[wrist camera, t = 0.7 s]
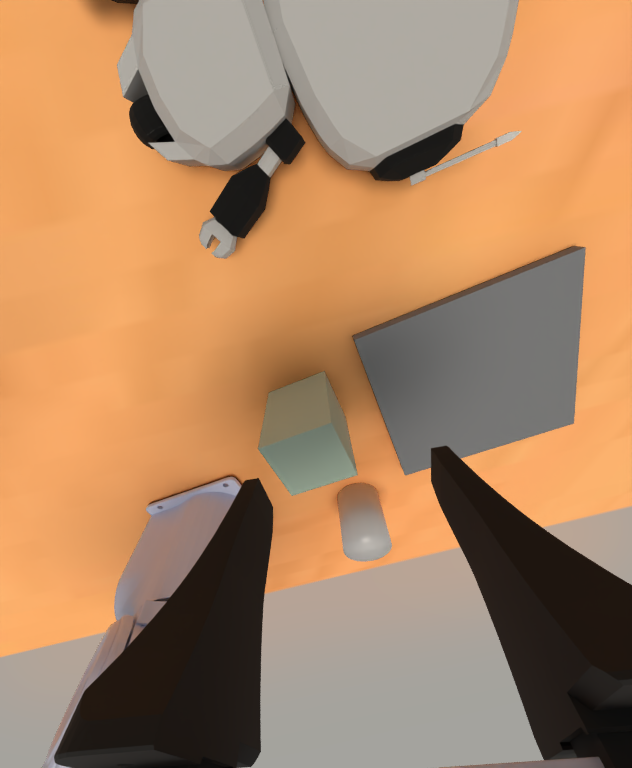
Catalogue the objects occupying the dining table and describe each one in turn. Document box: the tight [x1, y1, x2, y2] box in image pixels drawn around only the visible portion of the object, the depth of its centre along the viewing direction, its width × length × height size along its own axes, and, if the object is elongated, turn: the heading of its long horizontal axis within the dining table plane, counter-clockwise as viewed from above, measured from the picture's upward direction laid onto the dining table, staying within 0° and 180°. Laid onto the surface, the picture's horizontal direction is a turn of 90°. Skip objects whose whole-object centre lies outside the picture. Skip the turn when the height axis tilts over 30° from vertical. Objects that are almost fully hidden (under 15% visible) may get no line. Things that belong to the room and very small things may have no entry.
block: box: [258, 371, 358, 496], centre depth 20 cm, size 4×4×6 cm
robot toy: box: [112, 0, 521, 259], centre depth 11 cm, size 12×4×15 cm
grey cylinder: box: [337, 483, 392, 561], centre depth 26 cm, size 4×4×5 cm
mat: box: [353, 246, 586, 475], centre depth 21 cm, size 14×14×1 cm
